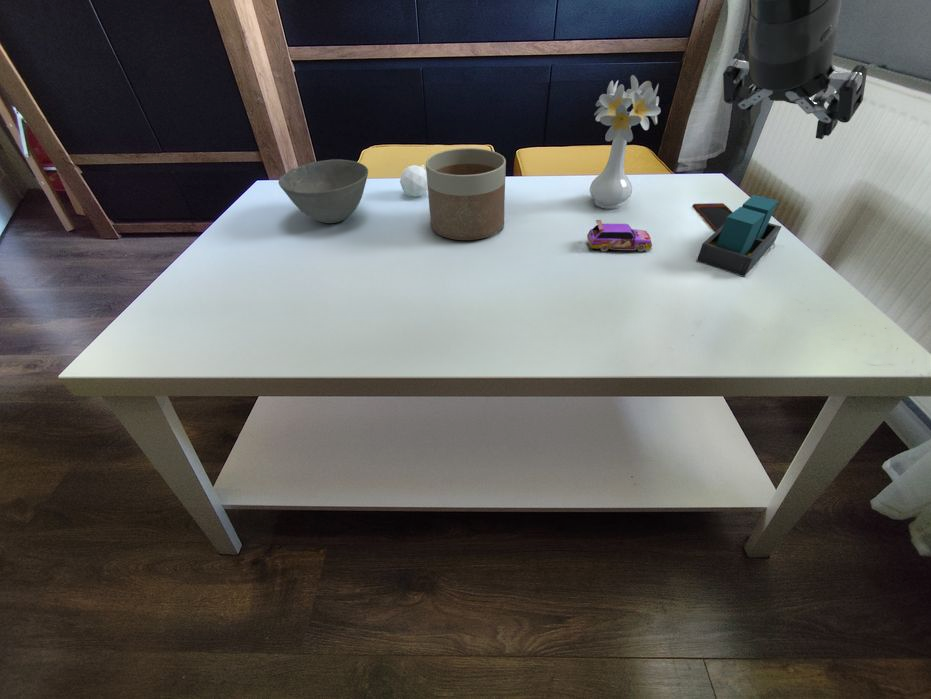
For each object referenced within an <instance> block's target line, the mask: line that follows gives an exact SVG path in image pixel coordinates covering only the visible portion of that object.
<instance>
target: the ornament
mask: <svg viewBox="0 0 931 699" xmlns="http://www.w3.org/2000/svg"><path fill="white" fill-rule="evenodd" d="M399 183H400V186H401V189H402V191H403V192H404V193H405V194H406V195H407V196H410V197H413V198H419V197H422V196H424V195H425V194H426V193H427V192H428V186H427V173H426V165H425V164H420V165H416V164H413V165H409V166H406V167H405V168H404V170H403V171H402V172H401V173H400V180H399Z"/></svg>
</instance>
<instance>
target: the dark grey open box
mask: <svg viewBox="0 0 931 699" xmlns="http://www.w3.org/2000/svg"><path fill="white" fill-rule="evenodd" d="M723 226H724V224H723V225H722V226H721V227H720V228H719V229H718V230H717V231H716V232H713V233H712V234H711V235H710V236H709V237H708V238H706V240H705V241H704V242H702V244H701V246H700V249H699V252H698V255H697V258H696V261H697V262H700V263H702V264H705V265H708V266H711V267H714V268H718V269H720V270H723V271H726V272H729V273H732V274H735V275H738V276H741V277H746V276H747V275H748V273H749V272H750V271H751V270H752V269H753V267H754V266H755V265H757V263H758V262H759V261H760V260H761V259H762V257H763V256H764V255H765V254H766V253H767V252H768V250H770V248H771V247H772V246H773V245H774V243H775V241H776V239H777V237H778V235H779V233H780V231H781V229H782V226H781V225H778V224H774V223H772V222H771V223H770V222H769V223H768V225H767V228H766V230H765V232H764V234H763V237H762V239H759V238H755V240H754V242H753V245H752V247H751V249H750V251H749V254H748V255H744V254H741V253H738V252H734V251H731V250H728V249H725V248H722V247H718V246H716V244H717V242H718V239H719V236H720V234H721V231H722V228H723Z"/></svg>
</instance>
